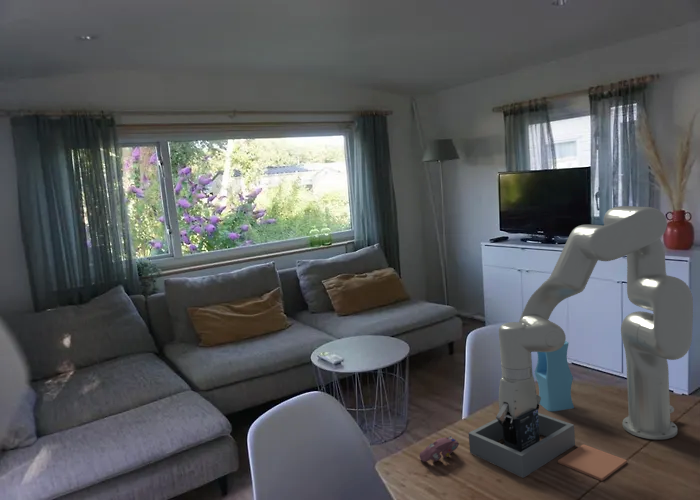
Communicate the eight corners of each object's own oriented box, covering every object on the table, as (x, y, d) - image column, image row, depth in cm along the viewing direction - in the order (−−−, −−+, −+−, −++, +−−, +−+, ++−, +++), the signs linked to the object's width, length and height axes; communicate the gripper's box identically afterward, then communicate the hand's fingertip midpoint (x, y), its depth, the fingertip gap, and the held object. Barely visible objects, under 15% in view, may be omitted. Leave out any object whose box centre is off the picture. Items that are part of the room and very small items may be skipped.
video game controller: (427, 471, 130) (432, 453, 126) (416, 457, 133) (421, 439, 129) (457, 458, 134) (463, 440, 130) (447, 445, 137) (452, 427, 134)
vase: (536, 401, 159) (532, 339, 157) (560, 397, 160) (556, 336, 157) (549, 412, 151) (545, 346, 149) (574, 408, 152) (570, 343, 150)
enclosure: (521, 424, 145) (520, 406, 145) (575, 444, 132) (574, 424, 131) (470, 452, 133) (468, 432, 133) (523, 478, 120) (521, 455, 119)
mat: (583, 446, 131) (583, 444, 131) (627, 462, 122) (626, 460, 121) (558, 462, 124) (558, 460, 124) (602, 481, 115) (601, 478, 115)
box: (521, 458, 128) (518, 418, 127) (503, 450, 133) (500, 411, 131) (541, 447, 132) (538, 408, 131) (523, 439, 137) (520, 402, 136)
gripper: (525, 359, 138) (529, 420, 140) (482, 377, 128) (487, 443, 130) (550, 365, 132) (554, 429, 134) (506, 385, 122) (511, 454, 124)
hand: (521, 435), depth 132 cm, fingers closed on box, 8 cm apart
